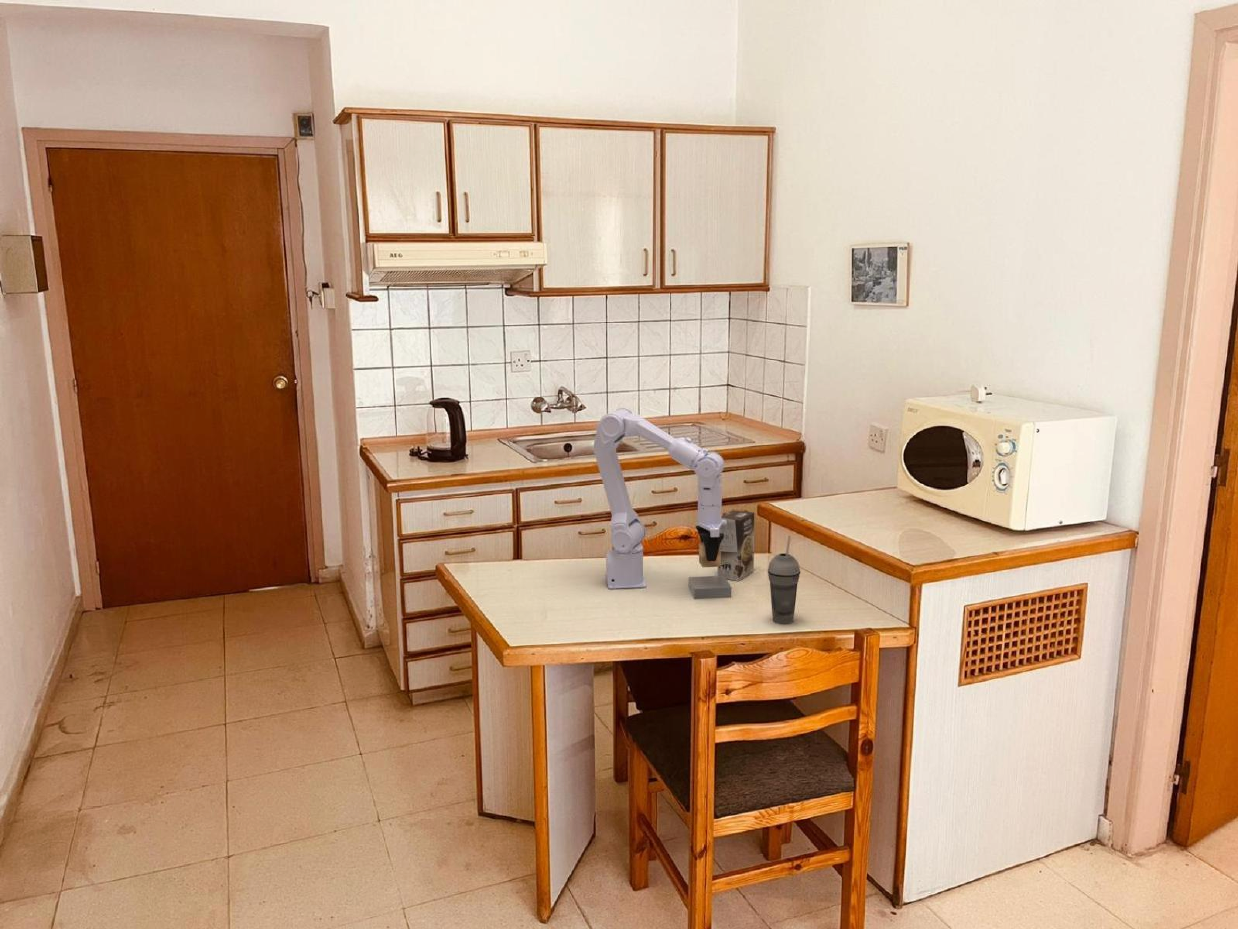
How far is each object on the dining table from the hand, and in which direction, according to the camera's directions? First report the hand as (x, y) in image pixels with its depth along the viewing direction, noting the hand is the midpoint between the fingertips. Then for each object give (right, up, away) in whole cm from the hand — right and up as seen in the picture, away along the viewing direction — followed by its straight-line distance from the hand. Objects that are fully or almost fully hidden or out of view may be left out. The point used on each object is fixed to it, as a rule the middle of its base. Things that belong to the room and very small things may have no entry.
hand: (709, 557), depth 236 cm
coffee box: (+8, -6, +14) cm, 17 cm away
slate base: (0, -9, +2) cm, 9 cm away
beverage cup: (+15, -13, -18) cm, 26 cm away
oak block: (0, -2, 0) cm, 2 cm away
